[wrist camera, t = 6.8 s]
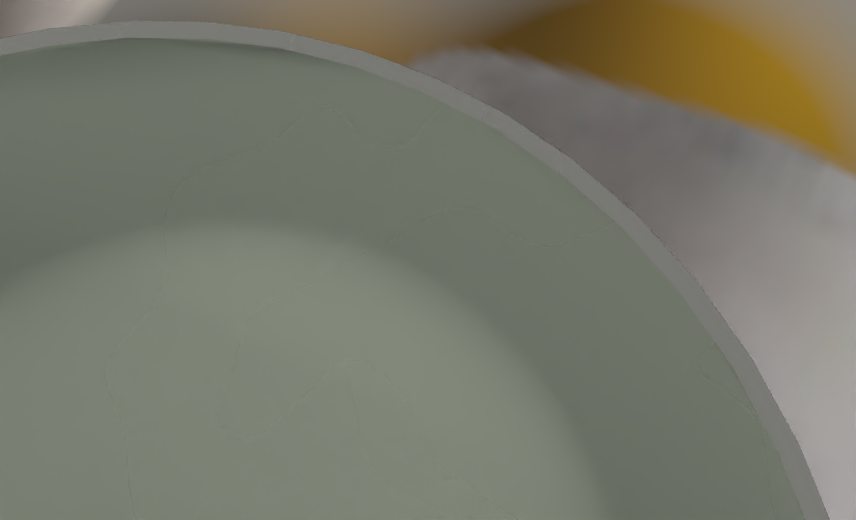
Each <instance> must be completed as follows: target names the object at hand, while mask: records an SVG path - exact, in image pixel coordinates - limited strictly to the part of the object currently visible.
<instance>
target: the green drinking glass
mask: <svg viewBox="0 0 856 520" xmlns="http://www.w3.org/2000/svg"><path fill="white" fill-rule="evenodd" d="M0 520H830V519H829V516H828V514H827V512H826V509H825V507H824V504H823V502H822V499H821V497H820V494H819V492H818V490H817V487H816V485H815V482H814V480H813V477H812V475H811V472H810V470H809V468H808V465H807V463H806V460H805V458H804V455H803V453H802V450H801V448H800V446H799V444H798V442H797V440H796V438H795V436H794V434H793V433H792V431H791V429H790V427H789V425H788V424H787V422H786V420H785V418H784V416H783V414H782V413H781V411H780V409H779V407H778V405H777V404H776V402H775V400H774V398H773V396H772V394H771V393H770V391H769V389H768V387H767V385H766V383H765V382H764V380H763V378H762V376H761V374H760V373H759V371H758V369H757V367H756V365H755V363H754V362H753V360H752V358H751V357H750V355H749V354H748V352H747V351H746V350H745V348H744V347H743V345H742V344H741V343H740V341H739V340H738V338H737V337H736V335H735V334H734V333H733V331H732V330H731V328H730V327H729V326H728V324H727V323H726V321H725V320H724V319H723V317H722V316H721V314H720V313H719V312H718V310H717V309H716V307H715V306H714V305H713V303H712V302H711V300H710V299H709V298H708V296H707V295H706V293H705V292H704V291H703V289H702V288H701V286H700V285H699V283H698V282H697V281H696V280H695V279H694V278H693V276H692V275H691V274H690V273H689V272H688V271H687V270H686V269H685V268H684V267H683V265H682V264H681V263H680V262H679V261H678V260H677V259H676V258H675V257H674V255H673V254H672V253H671V252H670V251H669V250H668V249H667V248H666V247H665V246H664V244H663V243H662V242H661V241H660V240H659V239H658V238H657V237H656V236H655V235H654V233H653V232H652V231H651V230H650V229H649V228H648V227H647V226H646V225H645V223H644V222H643V221H642V220H641V219H640V218H639V217H638V216H637V215H636V214H635V213H634V212H633V211H631V210H630V209H629V208H628V207H627V206H626V205H625V204H623V203H622V202H621V201H620V200H619V199H618V198H616V197H615V196H614V195H613V194H612V193H611V192H610V191H608V190H607V189H606V188H605V187H604V186H603V185H602V184H600V183H599V182H598V181H597V180H596V179H595V178H593V177H592V176H591V175H590V174H589V173H588V172H587V171H585V170H584V169H583V168H582V167H581V166H580V165H579V164H577V163H576V162H575V161H574V160H572V159H571V158H570V157H568V156H567V155H565V154H564V153H562V152H561V151H559V150H558V149H556V148H555V147H553V146H552V145H550V144H549V143H547V142H546V141H545V140H543V139H542V138H540V137H539V136H537V135H536V134H534V133H533V132H531V131H530V130H528V129H527V128H525V127H524V126H522V125H521V124H519V123H518V122H517V121H515V120H514V119H512V118H511V117H509V116H508V115H506V114H504V113H502V112H500V111H498V110H497V109H495V108H493V107H491V106H489V105H487V104H485V103H483V102H481V101H479V100H477V99H475V98H473V97H471V96H469V95H467V94H466V93H464V92H462V91H460V90H458V89H456V88H454V87H452V86H450V85H448V84H446V83H444V82H442V81H440V80H438V79H436V78H434V77H432V76H429V75H426V74H424V73H421V72H418V71H416V70H413V69H410V68H408V67H405V66H402V65H399V64H397V63H394V62H391V61H388V60H386V59H383V58H381V57H378V56H375V55H373V54H370V53H367V52H365V51H362V50H358V49H354V48H350V47H346V46H341V45H337V44H333V43H329V42H325V41H321V40H317V39H313V38H309V37H305V36H301V35H297V34H293V33H288V32H283V31H275V30H267V29H260V28H252V27H243V26H235V25H228V24H220V23H212V22H167V21H166V22H165V21H162V22H161V21H159V22H158V21H124V22H114V23H103V24H93V25H82V26H72V27H62V28H51V29H45V30H40V31H35V32H30V33H25V34H21V35H16V36H11V37H6V38H1V39H0Z"/></svg>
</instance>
